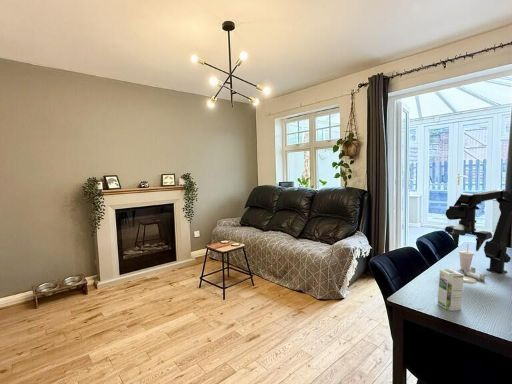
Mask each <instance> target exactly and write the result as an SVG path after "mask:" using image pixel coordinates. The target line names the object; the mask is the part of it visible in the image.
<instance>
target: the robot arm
mask: <svg viewBox="0 0 512 384" xmlns="http://www.w3.org/2000/svg"><path fill="white" fill-rule="evenodd" d="M491 200H495V201H496V202H497V203H498V209H499V212H500V214H499V217H498V221H497V223H496V226H495V229H494V233H493V234H492V232H490V231H486V230H481V231H477V228H476V224H477V220H476V210H477V211H478V210H480V207H478V205H480V204H482V202H487V201H491ZM445 217H446V218H447V219H448V220H450V221H453V220H459V221H458V224H456V225H448V226H446V227H444V232H446V233H447V234H448V235H450V236H451V238H452V240H453V243H454V245H455V247H458V246H459V243H460V236H465V235H471V236H475V237H476V238H475V241H476V244H475V251H476V252H478V251H479V250H480V248H481V247H482V245H483V244H484V245H483V246H484V247H483V252H484V255H485V258H488V259H489V267H487V268H485V270H486V271H489V272H492V273H496V274H498V275H499V274H500V275H502V274H505V273H508V270H505V264H506V263H507V264H508V263H510V262H511V259H512V258H511V256H509V254H508V252H507V250H508V248H507V244H506V239H507V237H508V234H509V230H510V227H511V225H512V193H510V192H509V191H508V190H507V189H498V188H497V189H494V190H490V191H489V190H488V191H483V192H479V193H470V192H469V193H467V192H463V193H461V194H460V196H459V197H458V198H457V200H456V202H455V203H454V204H453V205H449V208H447V209H446V210H445ZM489 239H490V240H489Z"/></svg>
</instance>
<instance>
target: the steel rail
mask: <svg viewBox="0 0 512 384" xmlns="http://www.w3.org/2000/svg"><path fill="white" fill-rule="evenodd" d="M463 271H464V272H463V274H464V276H467V277H471V278H474V279H475V280H476V281H477V280H478V281H479V282H484V283H485V280H486V275H485V274H483V273H480V274H478V273H476V267H471V266H470V270H468V269H464V270H463Z"/></svg>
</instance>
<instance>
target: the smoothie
mask: <svg viewBox="0 0 512 384" xmlns="http://www.w3.org/2000/svg"><path fill="white" fill-rule="evenodd" d="M469 245H470V244H469V243H467V244H466V250H463V249H461V250H458V254H459V263H460V264H459V265H460V270H461V271H464V269H468V270H471V265H472V260H473V256H475V254H474V252H473V251H470V250H469Z"/></svg>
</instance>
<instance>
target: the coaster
mask: <svg viewBox="0 0 512 384" xmlns="http://www.w3.org/2000/svg"><path fill="white" fill-rule="evenodd" d="M477 282H478V281H477V279H474V278H471V277H468V276H464V278H463V283H466V284H476V283H477Z"/></svg>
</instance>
